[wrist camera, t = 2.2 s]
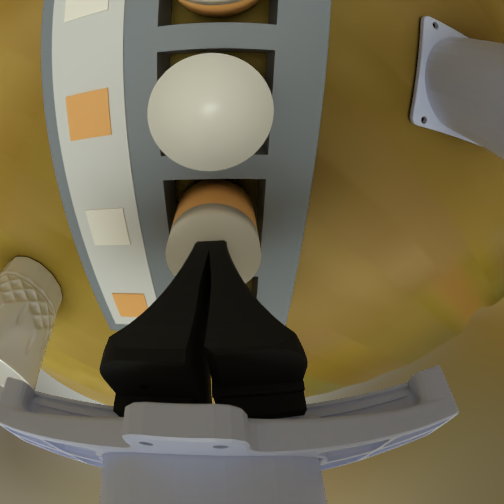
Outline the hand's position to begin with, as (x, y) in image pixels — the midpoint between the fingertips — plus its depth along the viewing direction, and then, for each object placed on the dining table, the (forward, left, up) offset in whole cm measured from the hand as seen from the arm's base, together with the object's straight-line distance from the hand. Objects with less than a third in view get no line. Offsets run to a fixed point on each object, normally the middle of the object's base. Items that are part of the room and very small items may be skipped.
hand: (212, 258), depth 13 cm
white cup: (+18, +8, -6) cm, 21 cm away
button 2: (0, -7, -4) cm, 7 cm away
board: (+2, -3, -6) cm, 7 cm away
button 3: (0, 0, -4) cm, 4 cm away
